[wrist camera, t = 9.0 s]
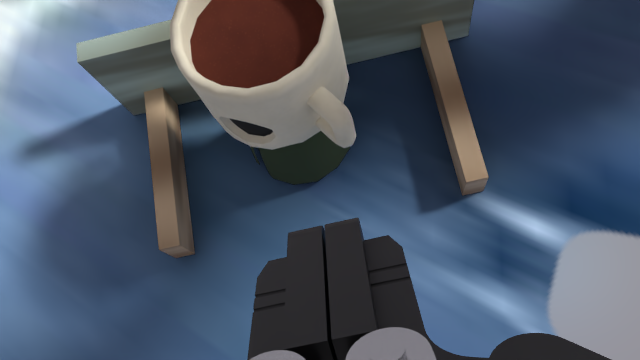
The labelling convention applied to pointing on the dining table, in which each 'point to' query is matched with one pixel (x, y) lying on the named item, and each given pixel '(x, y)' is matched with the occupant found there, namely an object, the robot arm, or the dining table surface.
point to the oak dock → (359, 45)
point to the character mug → (270, 78)
